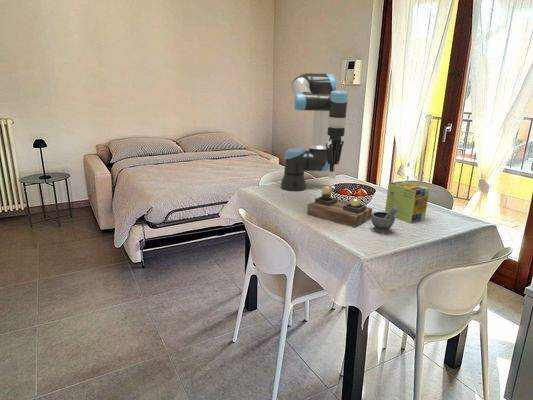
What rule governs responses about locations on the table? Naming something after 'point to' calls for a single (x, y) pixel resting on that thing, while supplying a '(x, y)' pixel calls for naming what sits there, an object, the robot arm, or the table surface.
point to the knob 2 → (355, 202)
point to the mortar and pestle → (383, 220)
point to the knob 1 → (326, 191)
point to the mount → (339, 211)
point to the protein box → (407, 200)
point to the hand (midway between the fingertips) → (332, 177)
